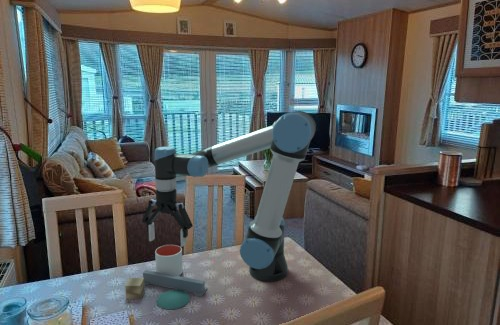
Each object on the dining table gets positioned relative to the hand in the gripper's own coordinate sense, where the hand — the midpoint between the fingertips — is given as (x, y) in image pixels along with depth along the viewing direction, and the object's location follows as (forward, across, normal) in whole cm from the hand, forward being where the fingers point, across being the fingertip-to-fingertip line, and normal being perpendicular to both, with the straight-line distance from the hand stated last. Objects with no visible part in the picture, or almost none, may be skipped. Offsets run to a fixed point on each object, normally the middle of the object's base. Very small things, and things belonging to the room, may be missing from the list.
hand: (167, 242), depth 131 cm
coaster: (+13, -11, +14) cm, 22 cm away
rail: (+13, -7, +8) cm, 16 cm away
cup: (+13, -1, 0) cm, 13 cm away
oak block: (+13, +3, +16) cm, 21 cm away
